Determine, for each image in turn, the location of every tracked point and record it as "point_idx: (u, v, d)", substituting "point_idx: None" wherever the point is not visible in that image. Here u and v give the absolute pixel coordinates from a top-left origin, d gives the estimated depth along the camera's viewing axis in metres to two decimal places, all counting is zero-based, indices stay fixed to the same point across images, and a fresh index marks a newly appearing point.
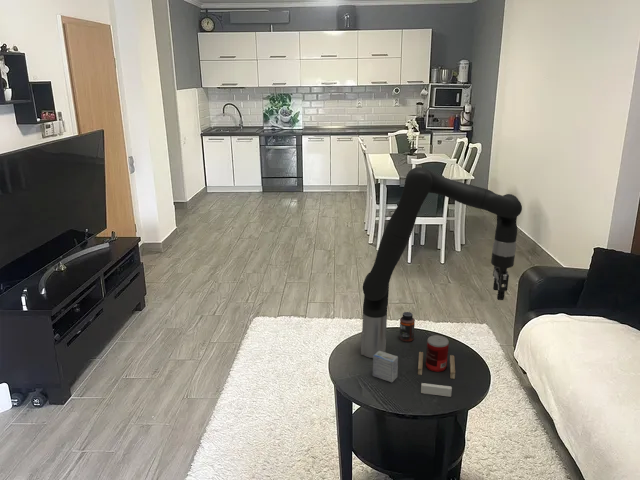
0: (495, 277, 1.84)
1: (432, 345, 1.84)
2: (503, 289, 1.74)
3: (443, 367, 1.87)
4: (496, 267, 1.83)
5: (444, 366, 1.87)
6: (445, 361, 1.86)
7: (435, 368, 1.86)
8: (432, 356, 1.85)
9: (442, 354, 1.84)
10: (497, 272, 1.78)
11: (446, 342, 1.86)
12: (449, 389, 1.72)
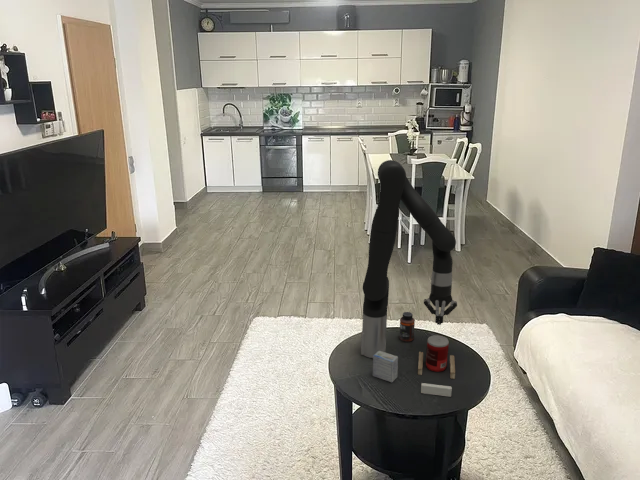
0: (438, 310, 1.93)
1: (432, 345, 1.84)
2: None
3: (443, 367, 1.87)
4: (432, 299, 1.92)
5: (444, 366, 1.87)
6: (445, 361, 1.86)
7: (435, 368, 1.86)
8: (432, 356, 1.85)
9: (442, 354, 1.84)
10: (445, 302, 1.91)
11: (446, 342, 1.86)
12: (449, 389, 1.72)
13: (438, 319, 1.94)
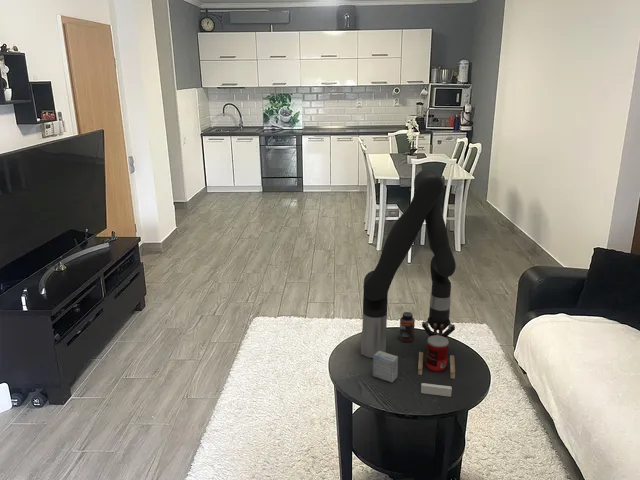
0: (436, 333, 1.96)
1: (432, 345, 1.84)
2: None
3: (443, 367, 1.87)
4: (430, 322, 1.95)
5: (444, 366, 1.87)
6: (445, 361, 1.86)
7: (435, 368, 1.86)
8: (432, 356, 1.85)
9: (442, 354, 1.84)
10: (443, 325, 1.94)
11: (446, 342, 1.86)
12: (449, 389, 1.72)
13: None
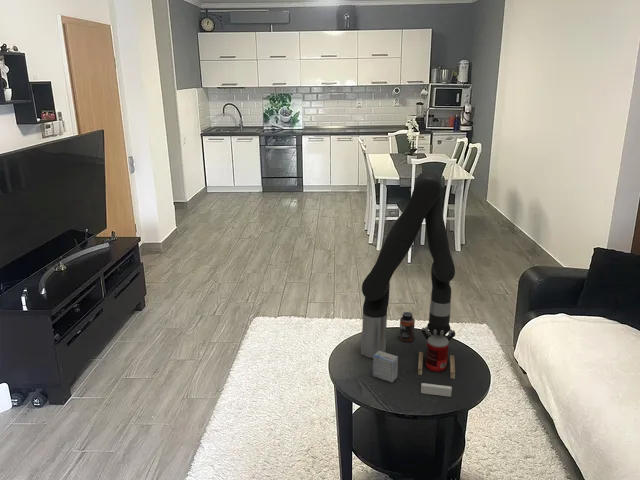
0: None
1: (432, 345, 1.84)
2: None
3: (443, 367, 1.86)
4: (430, 328, 1.90)
5: (444, 366, 1.87)
6: (445, 361, 1.86)
7: (435, 368, 1.86)
8: (432, 357, 1.85)
9: (442, 354, 1.84)
10: (443, 331, 1.89)
11: (446, 342, 1.86)
12: (449, 389, 1.72)
13: None
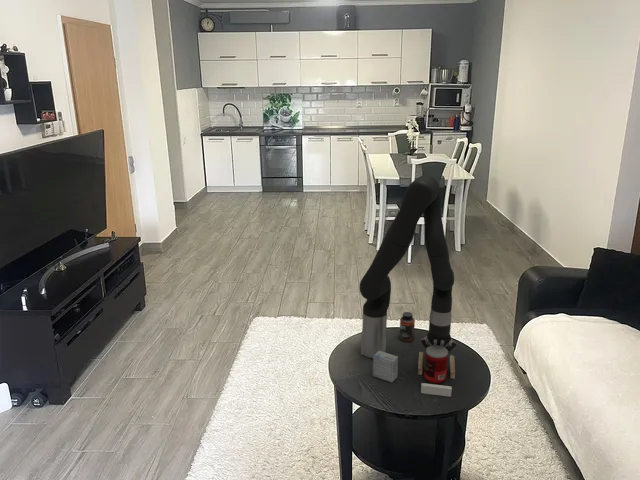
0: None
1: (430, 355, 1.77)
2: None
3: (441, 379, 1.79)
4: (430, 338, 1.83)
5: (442, 378, 1.79)
6: (443, 373, 1.79)
7: (432, 380, 1.79)
8: (429, 367, 1.79)
9: (440, 365, 1.77)
10: (444, 341, 1.82)
11: (445, 353, 1.78)
12: (449, 389, 1.72)
13: None
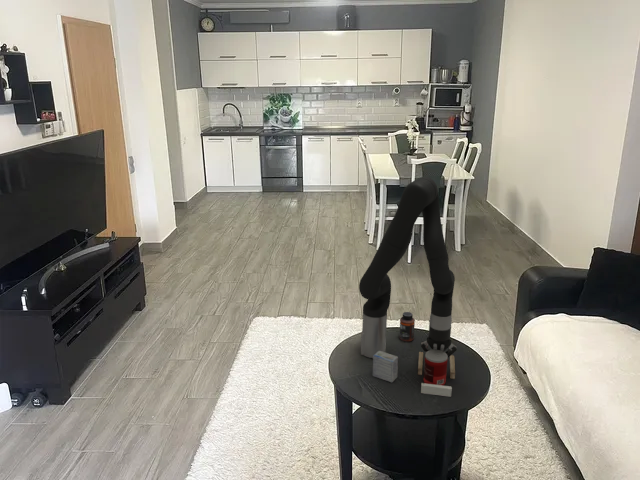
0: None
1: (429, 359, 1.75)
2: None
3: (440, 384, 1.76)
4: (430, 342, 1.80)
5: (441, 383, 1.76)
6: (442, 378, 1.76)
7: None
8: (428, 372, 1.76)
9: (439, 370, 1.74)
10: (444, 346, 1.79)
11: (444, 358, 1.75)
12: (449, 389, 1.72)
13: None
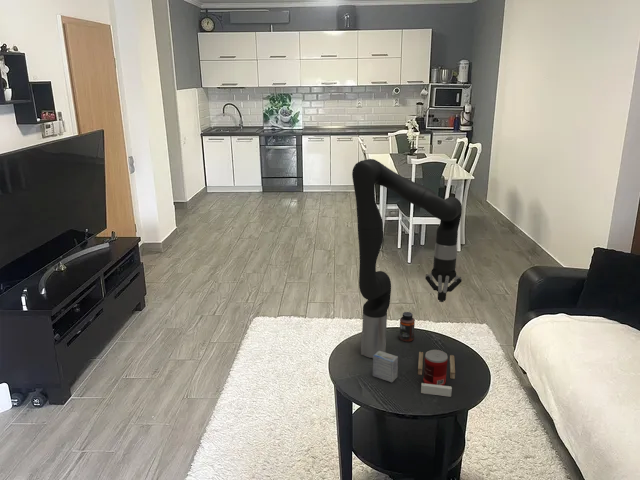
0: (441, 286, 1.78)
1: (429, 359, 1.75)
2: None
3: (440, 384, 1.76)
4: (435, 274, 1.78)
5: (441, 383, 1.76)
6: (442, 378, 1.76)
7: None
8: (428, 372, 1.76)
9: (439, 370, 1.74)
10: (449, 277, 1.76)
11: (444, 358, 1.75)
12: (449, 389, 1.72)
13: (441, 296, 1.79)
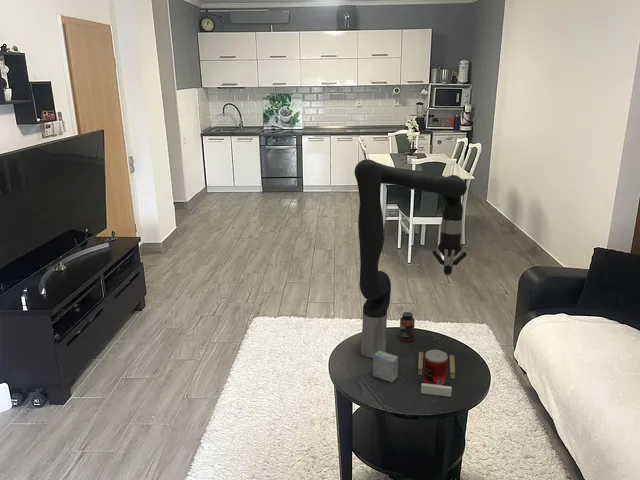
0: (447, 260, 1.89)
1: (429, 359, 1.75)
2: None
3: (440, 384, 1.76)
4: (441, 248, 1.88)
5: (441, 383, 1.76)
6: (442, 378, 1.76)
7: None
8: (428, 372, 1.76)
9: (439, 370, 1.74)
10: (454, 251, 1.87)
11: (444, 358, 1.75)
12: (449, 389, 1.72)
13: (447, 269, 1.90)
